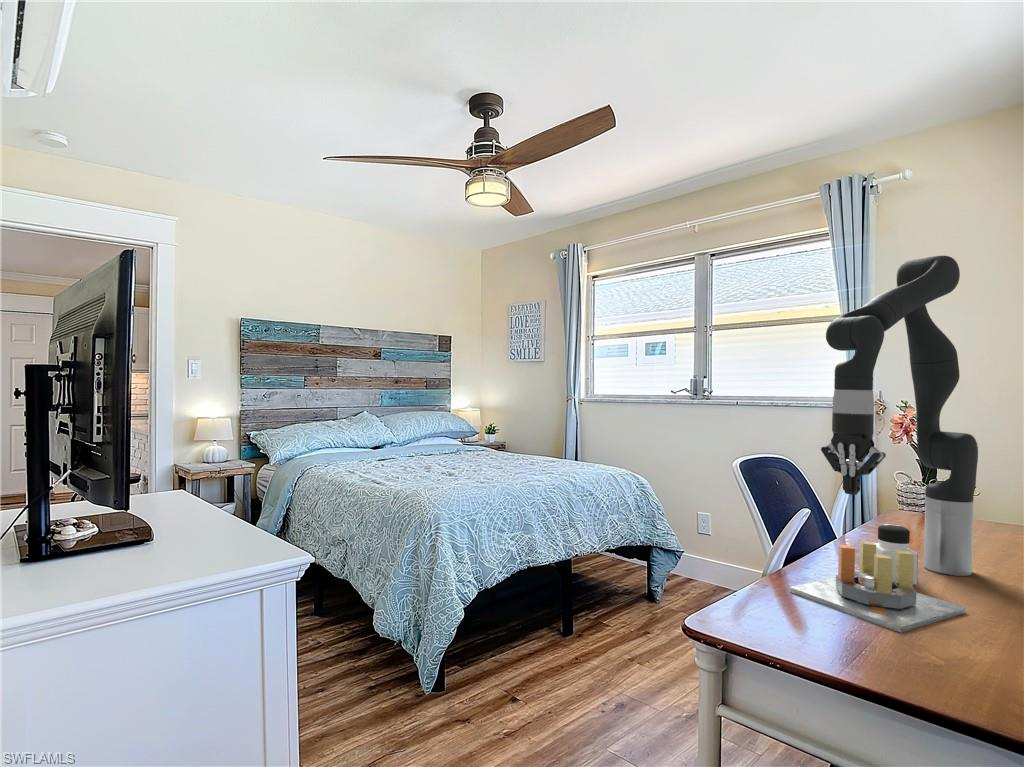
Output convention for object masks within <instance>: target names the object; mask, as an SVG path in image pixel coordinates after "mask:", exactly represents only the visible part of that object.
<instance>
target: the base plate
mask: <svg viewBox="0 0 1024 767" xmlns="http://www.w3.org/2000/svg"><path fill="white" fill-rule="evenodd" d="M858 573H859V572H858ZM858 584H859V585H863V586H866V587H869V588H873V589H874V573H859V579H858ZM789 593H791V594H792V593H793V594H795V595H797V596H800V597H803V598H806V599H807V600H810V601H814V602H817V603H819V604H822V605H823V606H826V607H829V608H832V609H835V610H838V611H841V612H842V613H846V614H848V615H850V616H853V617H857V618H859V619H862V620H865V621H868V622H870V623H872V624H876V625H878V626H880V627H883V628H886V629H889V630H891V631H895V632H897V633H899V634H902V633H905V632H907V631H908V632H909V631H911V630H914V629H918V628H921V627H925V626H927V625H930V624H934V623H938V622H940V621H944V620H947V619H951V618H953V617H957V616H960V615H963V614H966V613H967V608H966V607H965V606H962V605H958V604H955V603H952V602H949V601H947V600H942V599H939V598H935V597H934V596H933V597H932V596H929V595H926V594H923V593H921V592H917V591H916V605H912V606H909V607H905V608H901V609H898V608H890V607H881V606H873V605H867V604H864V603H861V602H859V601H856V600H853V599H850V598H847V597H844V596H842V595H841V594H840V592H839V591H838V590H837V588H836V576H835V577H830V578H826V579H823V580H817V581H812V582H807V583H803V584H799V585H798V584H797V585H793V586H790V587H789Z"/></svg>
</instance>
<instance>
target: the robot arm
mask: <svg viewBox="0 0 1024 767" xmlns="http://www.w3.org/2000/svg"><path fill="white" fill-rule="evenodd" d="M960 271H961V270H960V267H959V264H958V262H957V261H956V260H955V258H954V257H951V256H950V255H935V256H928V257H922V258H917V259H911V260H906V261H904V262H902V263H901V264H900V265H899V266H898V268H897V271H896V287H894V288H890V289H888V290H886V291H884V292H882V293H879V294H878V295H877V296H875V297H874V298H872V299H871V300H869V301H868V302H867V303H865V304H864V305H863V306H861V307H858V308H856V309H853V310H851V311H848V312H846V313H844V314H842V315H840V316H837V317H836V318H835V319H833V321H831V322H830V323H829V325H828V326H827V328H826V332H825V340H826V342H827V344H828V345H829V347H830V348H832V349H834V350H836V351H839V352H840V351H842V352H843V351H844V352H845V351H855V352H854V355H853V356H852V358H851V359H850V360H847V361H842V362H839V363H838V364H836V365H835V368H834V385H833V386H834V388H833V390H834V391H833V396H832V407H831V408H832V410H831V411H832V412H831V413H832V415H831V417H832V419H831V423H832V424H831V431H832V433H833V434H832V438H830V443H829V444H827V445H826V446H822V447H821V448H820V451H821V452H822V454H823V456H824V457H825V459H826V460H827V462H828V463H829V465H830V467H832V470H833V471H835V472H838V473H840V474H841V475H842V490H843V491H844V494H846V495H850V496H851V495H852V496H855V495H858V494H859V493H860V491H861V479H862V478H861V477H863V476H867V475H871V473H872V472H873V471H874V470H875V469H876V468H877V467H878V466H879V465H880V463H881V462H882V461H883V460H884V459H885V458H886V457H887V456H886V453H885V452H884V451H880V450H878V448H876V447H875V441H874V439H873V434H874V428H875V426H874V425H875V424H874V422H875V420H874V419H875V400H874V398H875V397H874V391H873V390H874V370H875V367H876V365H877V364H876V363H877V360H878V357H879V353H880V352H881V351H880V350H881V348H882V345H883V343H884V339H885V332H887V331H889V330H890V329H891V328H892V327H893V326H895V324H897V323H899V322H900V321H901V320H903V319H904V323H905V324H904V325H905V329H906V336H907V342H908V345H907V346H908V353H909V363H910V371H911V379H912V385H913V391H914V398H915V411H916V444H917V447H916V448H917V455H918V458H919V460H920V463H921V464H922V465H923V466H924V467H926V468H929V469H935V470H936V469H937V470H944V471H950V474H949V477H948V478H947V479H946V480H944V481H940V482H934V483H929V484H926V486H925V490H924V491H925V492H924V493H925V494H924V495H925V497H924V498H925V499H924V539H923V541H924V545H923V546H924V547H923V548H924V551H923V552H924V553H923V567H924V568H925V569H927V570H929V571H932V572H935V573H939V574H944V575H949V576H959V577H969V576H972V574H973V548H974V547H973V536H974V496H975V490H976V486H977V485H976V484H977V473H978V472H977V470H978V461H979V460H978V459H979V446H978V442H977V440H976V438H975V436H973V435H972V434H970V433H966V432H954V431H942V430H941V426H940V421H941V420H940V417H941V412H942V409H943V407H944V406H945V404H946V402H947V401H948V399H949V398H950V396H951V395H952V393H953V392H954V390H955V388H956V386H957V385H958V382H959V380H960V374H961V373H960V367H959V358H958V357H959V356H958V352H957V349H956V347H955V345H954V343H953V342H952V341H951V340H950V339H949V338H948V336H947V335H946V334H945V333H944V332H943V331H942V330H941V329H940V328H939V327H938V326H937V324H936V323H935V322H934V321H933V319H932V318H931V316H930V314H929V311H928V309H927V304H928V303H929V304H930V303H931V302H932V301H934V300H936V299H939V298H941V297H944V296H946V295H948V294H950V293H952V292H953V291H954V290H955V289H956V288H957V286H958V285H959V283H960V278H961V277H960V276H961V273H960ZM867 457H868V459H866V458H867Z"/></svg>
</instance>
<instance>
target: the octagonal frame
mask: <svg viewBox="0 0 1024 767" xmlns="http://www.w3.org/2000/svg"><path fill="white" fill-rule="evenodd" d="M874 543H875V542H873V541H864V540H859V570H858V571H859V572H857V571H856V572H855V570H856V569H855V568H856V567H855V566H856V565H855V563H856V562H855V561H856V548H855V547H854V546H853V545H847V544H838V563H837V564H838V566H837V568H838V570H837V574H836V575H835V577H836V588H837V590H838V591H839V592H840V594H841V595H842V596H844V597H847V598H850V599H853V600H856V601H859V602H861V603H864V604H867V605H873V606H881V607H890V608H898V609H901V608H905V607H909V606H912V605H916V592H917V591H916V590H915V589H914V585H913V567H914V554H912V553H911V552H910V551H901V550H896V556H895V579H892V558H891V557H890V556H888V555H879V554H876V544H874ZM859 573H874V589H873V588H869V587H866V586H863V585H859V584H858V579H859Z"/></svg>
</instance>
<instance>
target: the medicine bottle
mask: <svg viewBox="0 0 1024 767" xmlns="http://www.w3.org/2000/svg"><path fill="white" fill-rule="evenodd" d="M910 536H911V535H910V530H909V529H908V528H907V527H905V526H902V525H897V524H881V525H879V526H878V527H877V542H873V543H874V544H876V554H879V555H888V556H890V557H891V558H892V579H895V556H896V550H901V551H910V552H911V553H912V554H914V567H913V586H914V585H916V586H917V584H918V565H919V562H918V560H919V559H918V558H919V557H918V556H919V555H918V552H917V551H914V550H913V549H911V548H909V547H910V541H911V540H910V539H911V538H910Z"/></svg>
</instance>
